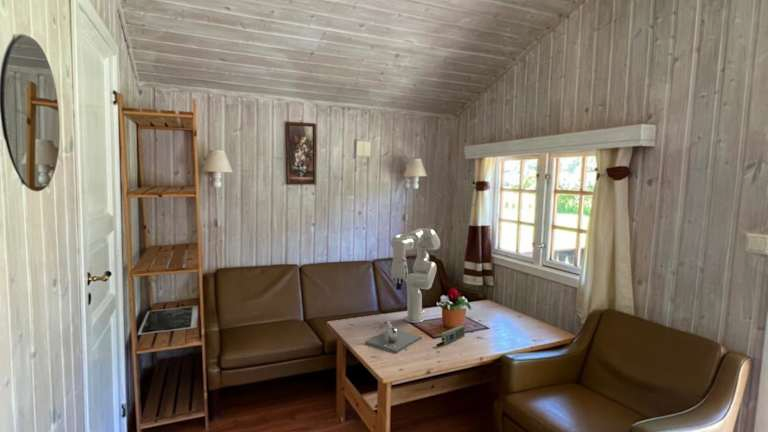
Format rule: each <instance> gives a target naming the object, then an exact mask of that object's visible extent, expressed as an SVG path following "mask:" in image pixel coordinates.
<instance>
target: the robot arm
mask: <svg viewBox="0 0 768 432" xmlns="http://www.w3.org/2000/svg"><path fill="white" fill-rule="evenodd" d="M390 245H391V248H392V261H391V268H390V275H391V279H392V280H394V281H395V283H396V290H398V291H400V290H402V289H403V282H405V283H406V289H407V298H406V299H407V300H406V301H407V314H406V315H407V316H405V317H404V320H405V321H406V322H408V323H413V324H415V323H417V324H418V323H419V324H420V323H422V322H424V321H425V318H424V317H423V315H424V314H425V310H423V311H422V309H423V305H422V304H423V303H422V302H423V301H422V299H423V296H422V295H423V293H422V291H421V289H422V290H430V289H431V288H432V286H433V283H434V280H435V276H436V274H437V270H438V269H437V264H436V263H435V262H434V261H430V255H429V253H428V251H426V250H438V249H440V247H441V240H440V238H439V236H438V234H437V232H436V231H435V229H432V228H425V227H424V228H423V227H422V228H421V227H420V228H417V229H414V230H413V231H409V232H405V233H400V234H396V235H395V236H393V237H392V238H391V240H390ZM414 246H415V247H416V252H417V253H416V254H417V255H416V257H415V261H414V263H413V266H412V271H413V273H412V272H411V273H409V268H408V264H407V261H408V260H407V258H406V251H410V250H412V249H413V248H414Z"/></svg>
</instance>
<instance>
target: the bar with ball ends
mask: <svg viewBox="0 0 768 432" xmlns="http://www.w3.org/2000/svg"><path fill="white" fill-rule="evenodd" d="M384 324H385V326H386V328H387V330H388V341H389V342H392V343H393V342H397V330H398V328H397V327H394V326H393V325H392V323H391V321H390V319H386V320H385V321H384Z"/></svg>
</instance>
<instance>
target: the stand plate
mask: <svg viewBox="0 0 768 432" xmlns="http://www.w3.org/2000/svg"><path fill="white" fill-rule="evenodd" d="M422 338H423V336H422V335H419V334H415V333H412V332H407V331H404V330H400V329H397V342H393V343H392V342H389V341H388V329H387V330H385V331H384V332H381V333H378V334H377V335H375V336H373V337H371V338H369V339H367V340H365V341H364V342H365V343H364V344H365V345H368V346H371V347H375V348H378V349H380V350H384V351H387V352H391V353H394V354H398V353H401V352H402V351H403V350H405V349H406V348H408V347H410V346H411V345H413V344H415V343H417V342H419V341H420V340H421V339H422Z"/></svg>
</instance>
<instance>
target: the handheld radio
mask: <svg viewBox="0 0 768 432" xmlns="http://www.w3.org/2000/svg"><path fill="white" fill-rule="evenodd" d="M465 336H466V335H465V325H463V324H461V325H457V326H456V327H453V328H451V329H449V330H446V331H443V332H441V342H439V343H437V344H435V345H436V346H437V347H440V346H441V345H448V344H449V343H452V342H454V341H457V340H459V339H461V338H463V337H465Z"/></svg>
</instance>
